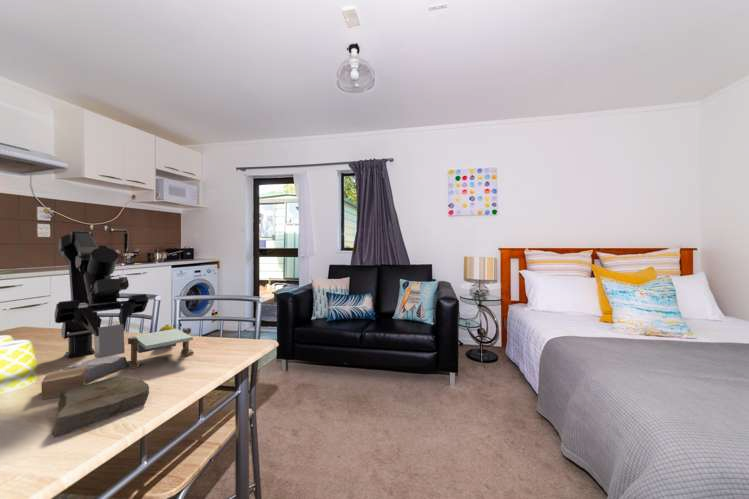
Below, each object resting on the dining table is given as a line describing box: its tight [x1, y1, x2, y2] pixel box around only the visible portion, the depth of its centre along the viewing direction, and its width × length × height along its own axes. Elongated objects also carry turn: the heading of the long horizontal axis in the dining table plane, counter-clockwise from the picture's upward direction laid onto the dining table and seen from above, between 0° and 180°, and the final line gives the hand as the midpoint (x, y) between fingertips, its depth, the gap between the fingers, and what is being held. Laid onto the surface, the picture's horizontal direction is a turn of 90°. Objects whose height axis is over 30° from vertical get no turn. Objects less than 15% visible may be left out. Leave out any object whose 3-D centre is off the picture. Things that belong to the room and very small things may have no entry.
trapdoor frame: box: [125, 327, 194, 370], centre depth 98 cm, size 5×17×8 cm, turn 139°
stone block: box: [62, 354, 128, 383], centre depth 87 cm, size 12×5×10 cm
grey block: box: [93, 323, 125, 358], centre depth 82 cm, size 5×5×8 cm
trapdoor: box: [132, 328, 194, 354], centre depth 97 cm, size 15×12×5 cm
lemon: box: [158, 324, 176, 332], centre depth 110 cm, size 6×6×8 cm
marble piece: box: [51, 375, 150, 437], centre depth 68 cm, size 17×15×4 cm
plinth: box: [41, 367, 87, 401], centre depth 76 cm, size 7×7×4 cm
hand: (110, 333), depth 81 cm, fingers closed on grey block, 5 cm apart
